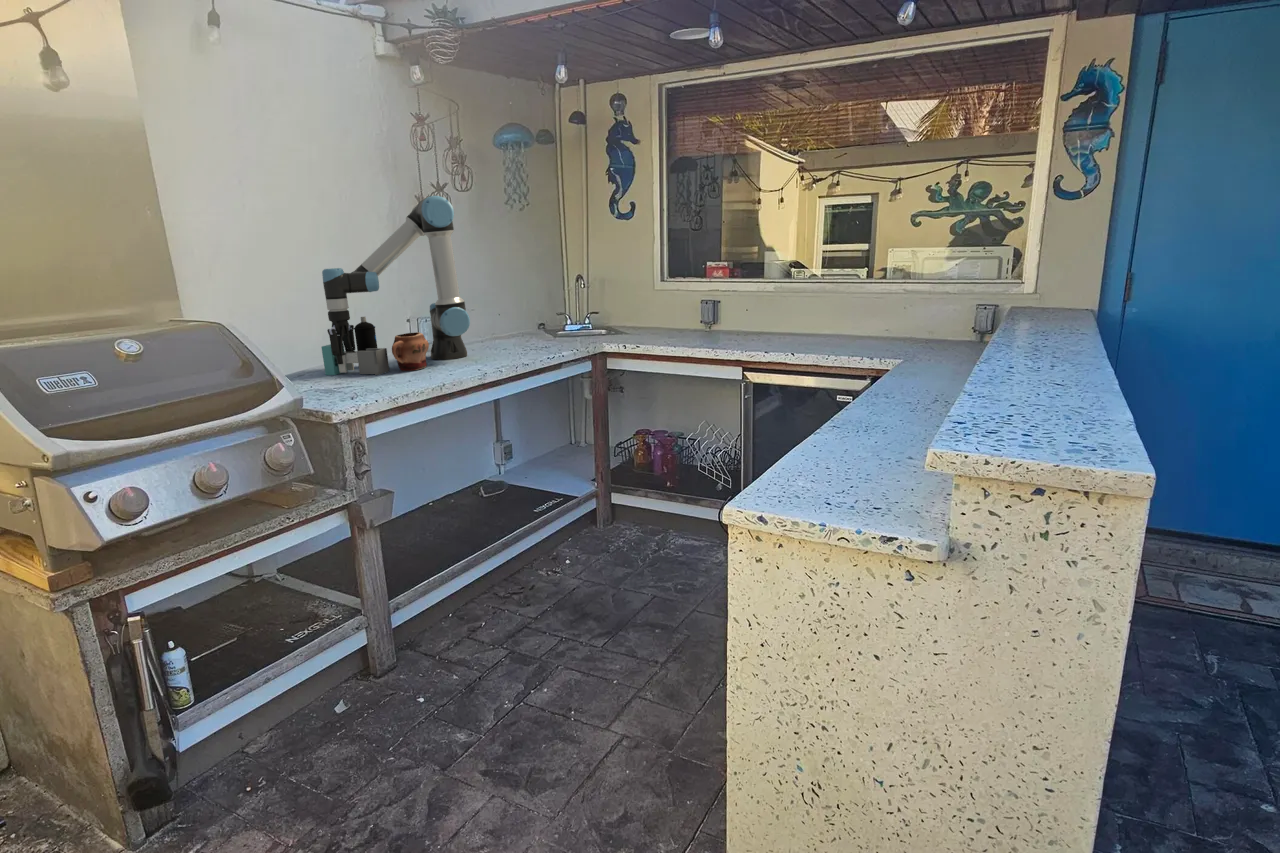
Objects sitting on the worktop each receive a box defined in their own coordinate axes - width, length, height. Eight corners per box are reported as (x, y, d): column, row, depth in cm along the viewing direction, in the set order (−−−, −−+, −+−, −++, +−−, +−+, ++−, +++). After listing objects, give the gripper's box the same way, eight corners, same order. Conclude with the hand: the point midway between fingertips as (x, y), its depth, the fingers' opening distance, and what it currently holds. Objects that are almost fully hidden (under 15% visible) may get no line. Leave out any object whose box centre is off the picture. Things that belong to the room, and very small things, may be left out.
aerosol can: (368, 368, 289) (361, 318, 284) (354, 367, 293) (347, 317, 288) (384, 365, 295) (378, 315, 290) (371, 364, 300) (364, 315, 295)
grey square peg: (371, 362, 280) (369, 349, 279) (364, 364, 275) (362, 351, 274) (337, 362, 283) (336, 350, 282) (330, 364, 279) (328, 352, 277)
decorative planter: (412, 374, 272) (408, 337, 268) (383, 374, 274) (378, 337, 271) (438, 365, 290) (434, 330, 287) (410, 365, 293) (406, 330, 290)
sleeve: (389, 371, 281) (386, 348, 279) (379, 375, 274) (375, 351, 272) (370, 371, 283) (367, 348, 280) (360, 375, 276) (356, 351, 273)
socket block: (347, 371, 285) (343, 343, 282) (334, 375, 278) (330, 346, 275) (338, 371, 286) (334, 343, 283) (325, 375, 278) (321, 346, 276)
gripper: (342, 307, 283) (351, 367, 289) (315, 312, 267) (324, 375, 273) (360, 307, 282) (368, 367, 288) (333, 312, 266) (342, 375, 272)
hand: (347, 371), depth 280 cm, fingers closed on grey square peg, 4 cm apart
